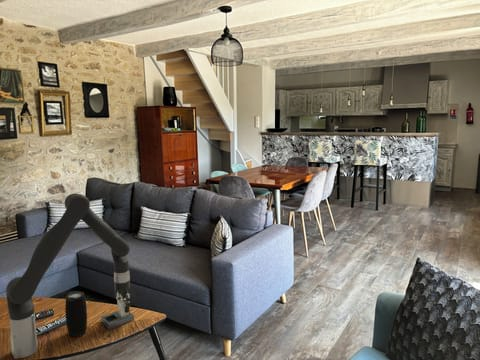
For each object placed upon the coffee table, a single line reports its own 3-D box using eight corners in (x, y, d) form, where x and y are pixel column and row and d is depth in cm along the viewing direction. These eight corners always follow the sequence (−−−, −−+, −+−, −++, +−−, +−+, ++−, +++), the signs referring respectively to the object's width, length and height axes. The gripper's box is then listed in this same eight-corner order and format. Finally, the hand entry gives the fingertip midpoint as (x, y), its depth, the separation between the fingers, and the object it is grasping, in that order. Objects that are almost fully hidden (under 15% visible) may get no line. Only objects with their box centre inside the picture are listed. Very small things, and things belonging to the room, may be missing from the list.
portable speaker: (91, 329, 177) (89, 291, 174) (78, 339, 168) (76, 300, 165) (76, 326, 179) (74, 289, 177) (62, 337, 170) (60, 297, 168)
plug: (121, 321, 184) (120, 302, 183) (118, 318, 187) (117, 300, 186) (131, 317, 188) (130, 299, 186) (127, 315, 191) (126, 297, 189)
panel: (109, 329, 177) (108, 324, 177) (101, 321, 184) (100, 316, 184) (134, 320, 186) (133, 315, 185) (125, 312, 193) (125, 307, 193)
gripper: (108, 277, 187) (110, 306, 189) (121, 285, 177) (122, 317, 179) (122, 273, 192) (124, 302, 194) (135, 281, 182) (136, 311, 184)
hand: (123, 309), depth 187 cm, fingers open, 8 cm apart
